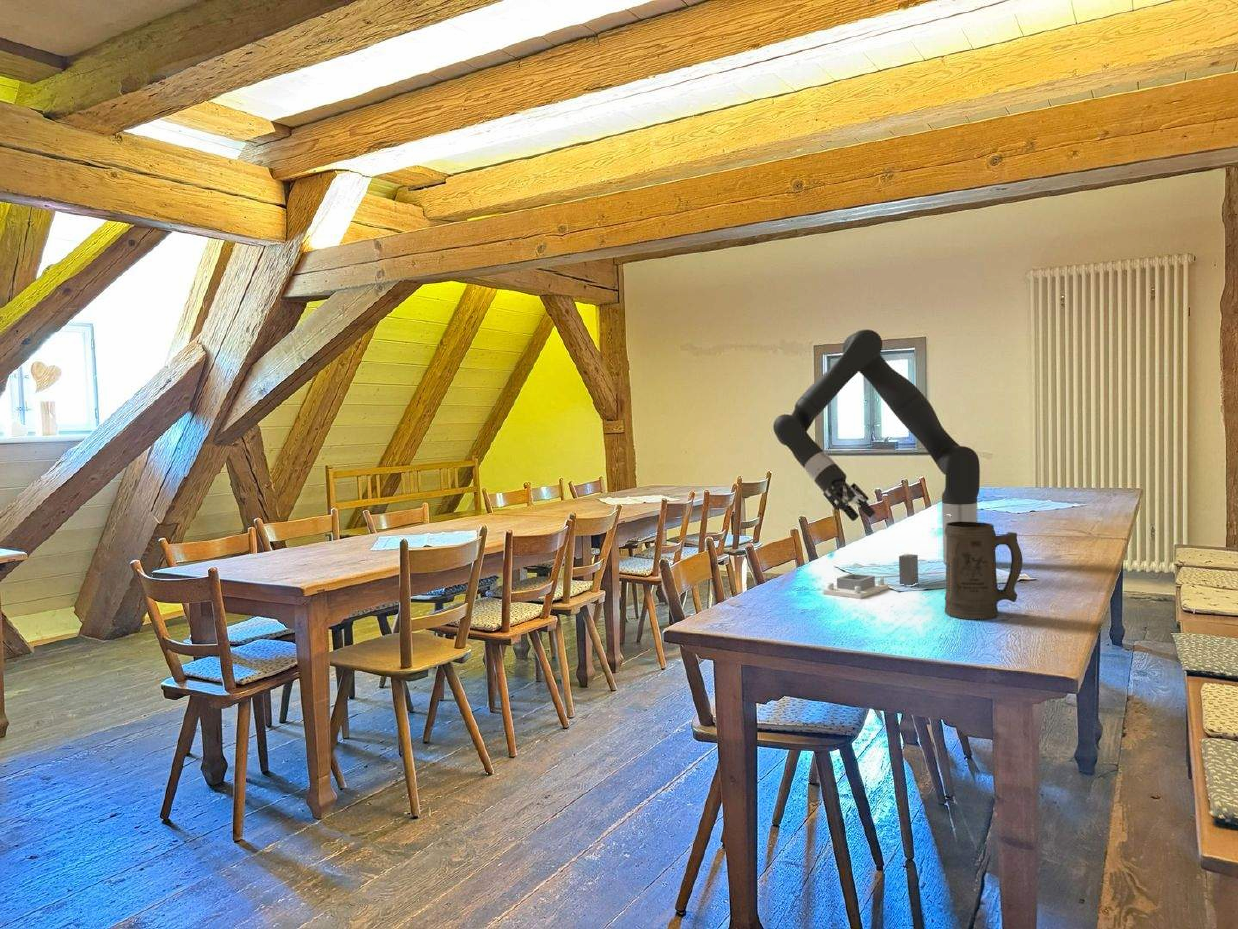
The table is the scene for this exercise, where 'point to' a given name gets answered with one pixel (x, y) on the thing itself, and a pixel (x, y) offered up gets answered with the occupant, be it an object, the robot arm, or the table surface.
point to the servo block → (908, 569)
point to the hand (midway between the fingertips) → (864, 517)
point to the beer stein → (977, 570)
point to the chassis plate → (856, 586)
